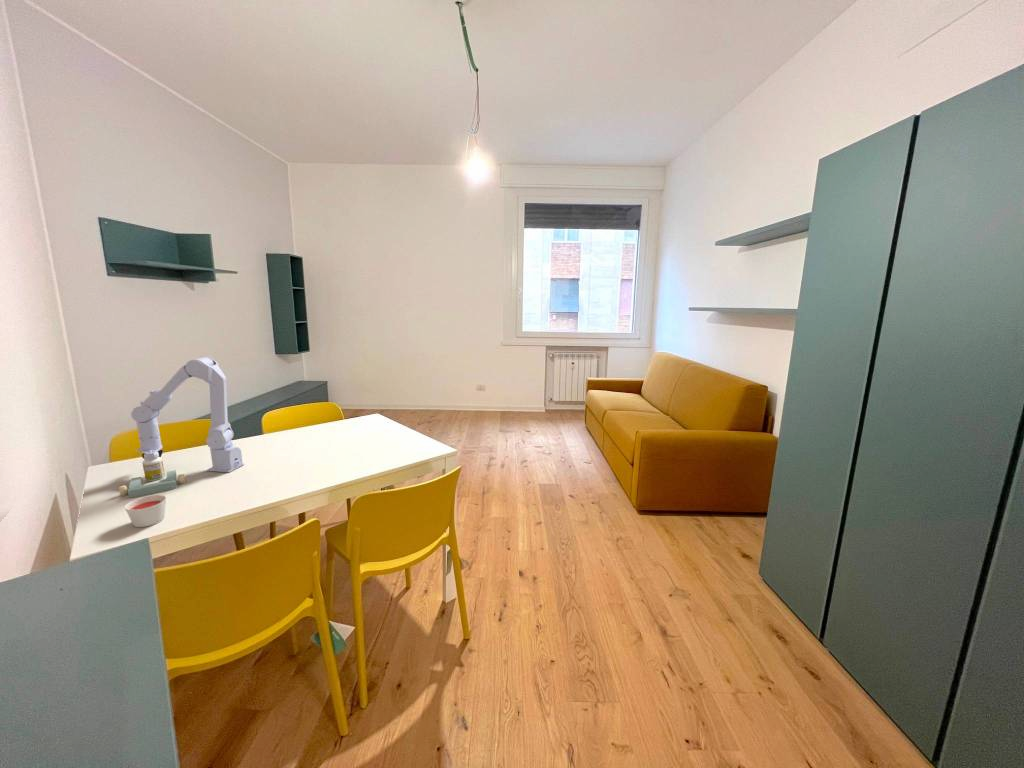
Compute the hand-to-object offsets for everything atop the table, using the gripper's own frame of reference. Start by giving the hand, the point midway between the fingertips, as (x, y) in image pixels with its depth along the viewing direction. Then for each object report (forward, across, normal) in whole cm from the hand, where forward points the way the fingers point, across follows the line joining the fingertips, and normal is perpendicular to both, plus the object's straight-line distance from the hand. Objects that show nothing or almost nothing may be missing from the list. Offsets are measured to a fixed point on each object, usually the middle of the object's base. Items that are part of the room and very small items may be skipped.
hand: (155, 470), depth 148 cm
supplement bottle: (+2, +4, 0) cm, 5 cm away
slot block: (+2, +13, 0) cm, 13 cm away
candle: (+2, +41, 0) cm, 41 cm away
